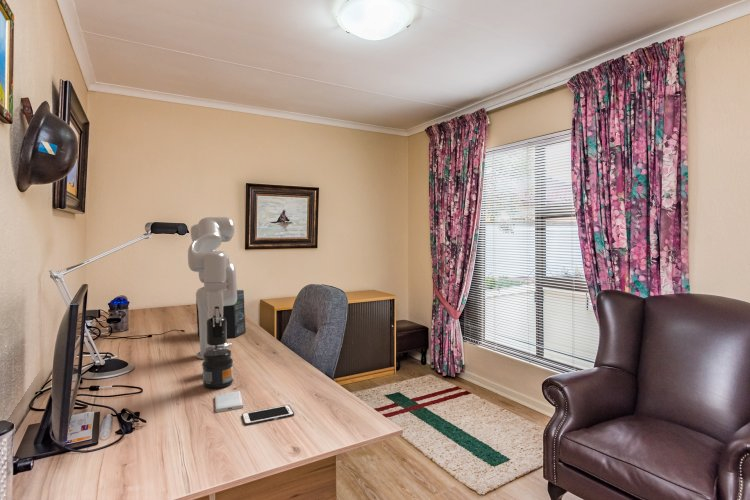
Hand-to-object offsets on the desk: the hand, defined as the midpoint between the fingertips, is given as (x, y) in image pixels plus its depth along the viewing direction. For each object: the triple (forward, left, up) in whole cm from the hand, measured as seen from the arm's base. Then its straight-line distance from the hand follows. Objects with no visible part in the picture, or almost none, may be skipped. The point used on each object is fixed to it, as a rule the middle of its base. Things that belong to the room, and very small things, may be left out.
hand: (216, 334), depth 150 cm
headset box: (-42, -67, -19) cm, 81 cm away
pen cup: (-6, -12, -19) cm, 23 cm away
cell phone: (+5, +36, -19) cm, 41 cm away
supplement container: (0, 0, -19) cm, 19 cm away
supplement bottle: (0, 0, -4) cm, 4 cm away
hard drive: (+7, +18, -19) cm, 27 cm away
